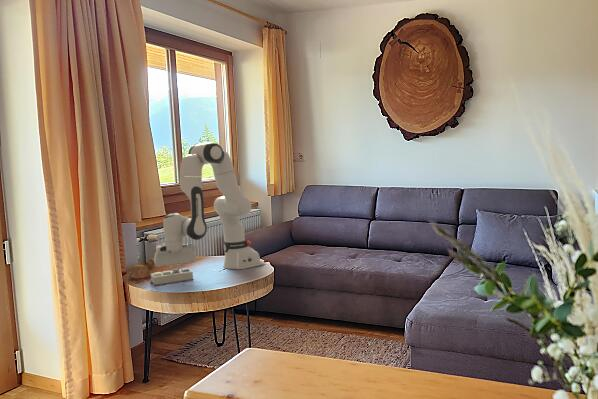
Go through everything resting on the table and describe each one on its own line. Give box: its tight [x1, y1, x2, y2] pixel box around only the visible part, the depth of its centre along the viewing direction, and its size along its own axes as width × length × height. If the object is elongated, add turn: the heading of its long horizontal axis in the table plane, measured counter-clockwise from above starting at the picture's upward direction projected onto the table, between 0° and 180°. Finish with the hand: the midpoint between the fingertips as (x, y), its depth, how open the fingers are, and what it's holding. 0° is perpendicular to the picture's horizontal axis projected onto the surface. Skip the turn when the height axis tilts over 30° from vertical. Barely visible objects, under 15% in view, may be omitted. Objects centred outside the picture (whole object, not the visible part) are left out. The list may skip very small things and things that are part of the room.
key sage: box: [162, 270, 171, 275], centre depth 257 cm, size 3×3×3 cm
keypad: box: [150, 267, 194, 287], centre depth 258 cm, size 19×12×4 cm, turn 114°
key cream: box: [153, 271, 162, 276], centre depth 255 cm, size 3×3×3 cm
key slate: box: [180, 267, 190, 272], centre depth 261 cm, size 3×3×3 cm
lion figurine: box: [128, 257, 156, 279], centre depth 270 cm, size 15×5×9 cm, turn 120°
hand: (176, 272), depth 259 cm, fingers closed, pressing on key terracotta
